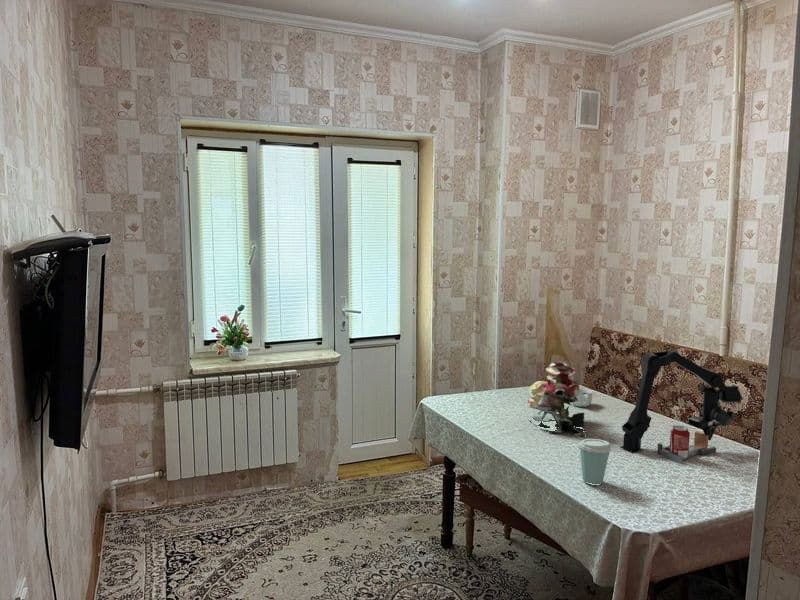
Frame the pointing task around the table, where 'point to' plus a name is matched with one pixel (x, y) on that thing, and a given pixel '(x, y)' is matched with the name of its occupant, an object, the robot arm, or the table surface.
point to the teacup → (584, 398)
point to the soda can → (679, 441)
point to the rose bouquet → (557, 397)
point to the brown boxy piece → (699, 443)
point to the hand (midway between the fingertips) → (708, 440)
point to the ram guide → (706, 450)
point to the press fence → (669, 454)
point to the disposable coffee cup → (594, 459)
